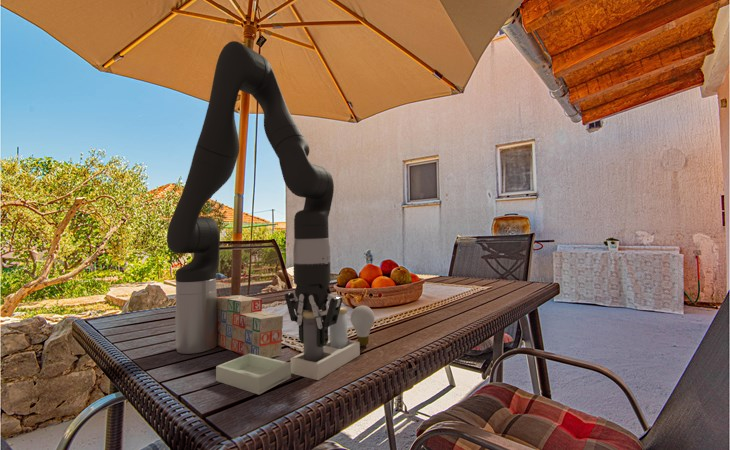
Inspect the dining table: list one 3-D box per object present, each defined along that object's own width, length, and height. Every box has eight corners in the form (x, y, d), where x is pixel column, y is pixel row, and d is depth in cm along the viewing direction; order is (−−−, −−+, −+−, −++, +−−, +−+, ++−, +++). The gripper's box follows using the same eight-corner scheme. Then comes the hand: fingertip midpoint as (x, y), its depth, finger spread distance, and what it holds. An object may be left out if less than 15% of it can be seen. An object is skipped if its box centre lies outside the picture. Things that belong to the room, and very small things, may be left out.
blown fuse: (299, 366, 69) (298, 312, 69) (312, 360, 72) (311, 308, 73) (315, 370, 67) (314, 314, 67) (327, 363, 70) (326, 310, 71)
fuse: (326, 358, 76) (325, 309, 76) (337, 353, 79) (336, 305, 80) (341, 361, 74) (339, 311, 74) (351, 355, 77) (350, 307, 78)
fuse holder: (290, 373, 69) (290, 358, 69) (335, 350, 81) (334, 337, 81) (317, 380, 65) (317, 364, 65) (359, 355, 78) (359, 341, 78)
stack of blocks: (282, 355, 79) (283, 302, 80) (258, 362, 74) (260, 305, 76) (236, 339, 93) (238, 294, 94) (213, 344, 89) (216, 296, 90)
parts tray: (216, 380, 66) (216, 366, 66) (249, 366, 73) (249, 353, 73) (258, 394, 60) (258, 378, 60) (291, 377, 66) (290, 363, 67)
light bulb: (372, 351, 80) (371, 308, 80) (348, 350, 81) (347, 308, 82) (377, 343, 86) (375, 303, 86) (354, 342, 87) (353, 303, 87)
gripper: (273, 261, 71) (275, 344, 70) (328, 263, 63) (330, 356, 63) (298, 258, 77) (299, 334, 77) (350, 260, 70) (352, 344, 69)
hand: (313, 343), depth 70 cm, fingers closed on blown fuse, 4 cm apart
